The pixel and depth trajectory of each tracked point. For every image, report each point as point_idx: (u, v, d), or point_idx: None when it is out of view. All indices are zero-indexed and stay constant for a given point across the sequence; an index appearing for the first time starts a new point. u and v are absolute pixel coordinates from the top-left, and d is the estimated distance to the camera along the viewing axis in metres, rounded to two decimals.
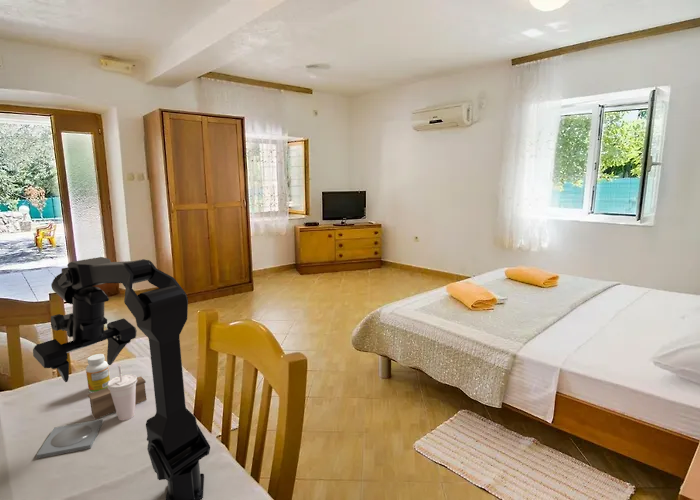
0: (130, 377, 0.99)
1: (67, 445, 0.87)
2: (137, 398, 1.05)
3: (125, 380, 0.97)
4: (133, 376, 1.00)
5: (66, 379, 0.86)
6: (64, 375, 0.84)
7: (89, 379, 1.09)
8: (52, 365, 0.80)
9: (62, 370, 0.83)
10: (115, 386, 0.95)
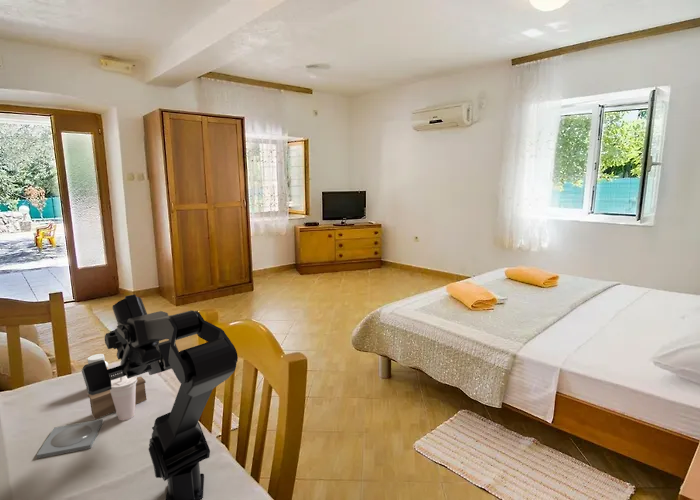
0: None
1: (67, 445, 0.87)
2: (137, 398, 1.05)
3: (125, 380, 0.97)
4: None
5: None
6: None
7: None
8: (96, 393, 0.82)
9: None
10: (115, 386, 0.95)
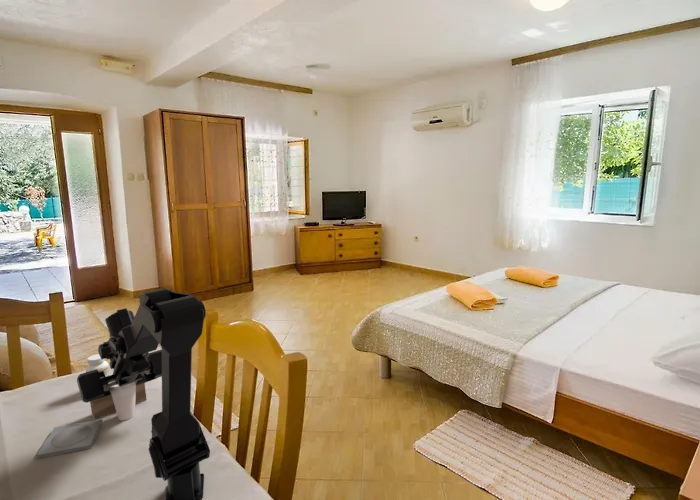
0: None
1: (67, 445, 0.87)
2: (137, 398, 1.05)
3: None
4: None
5: None
6: None
7: None
8: (89, 400, 0.88)
9: None
10: (115, 386, 0.95)
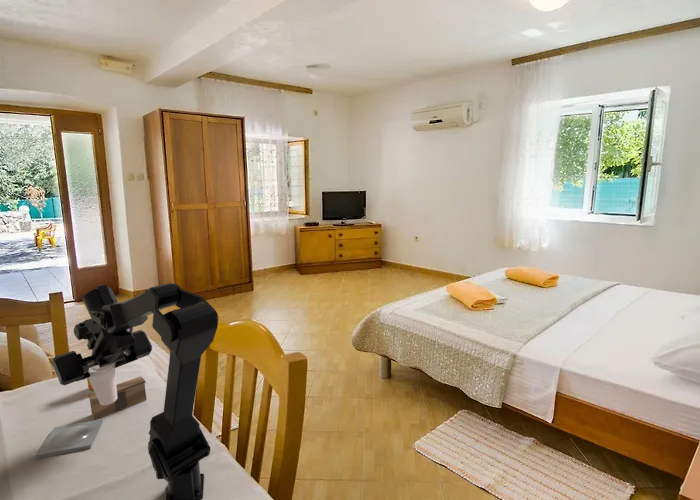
0: None
1: (67, 445, 0.87)
2: (137, 398, 1.05)
3: None
4: None
5: None
6: None
7: None
8: (68, 383, 0.83)
9: None
10: (93, 371, 0.90)
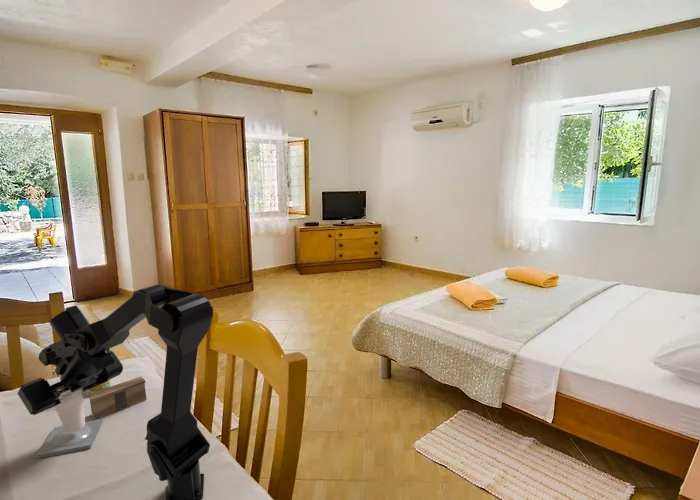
0: None
1: (67, 445, 0.87)
2: (137, 398, 1.05)
3: None
4: None
5: None
6: None
7: None
8: (39, 412, 0.78)
9: None
10: (60, 398, 0.86)
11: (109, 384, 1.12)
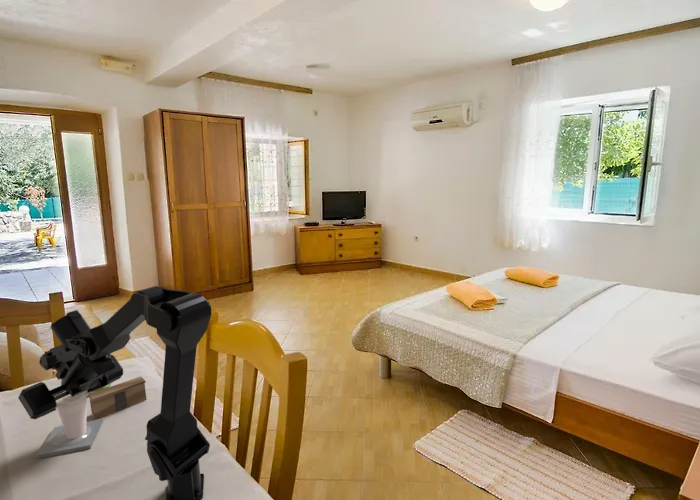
0: None
1: (67, 445, 0.87)
2: (137, 398, 1.05)
3: None
4: None
5: None
6: None
7: None
8: (39, 416, 0.79)
9: None
10: (66, 402, 0.87)
11: (109, 384, 1.12)
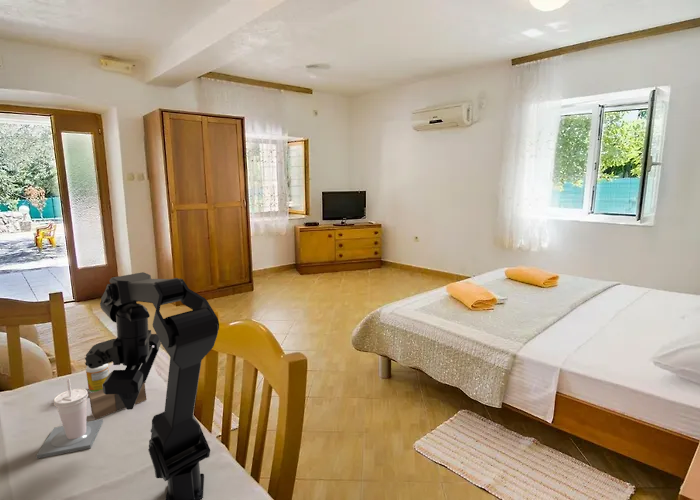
0: (79, 391, 0.91)
1: (67, 445, 0.87)
2: (137, 398, 1.05)
3: (75, 394, 0.90)
4: (82, 389, 0.92)
5: None
6: (136, 399, 0.82)
7: (89, 379, 1.09)
8: (139, 387, 0.78)
9: None
10: (66, 402, 0.87)
11: None
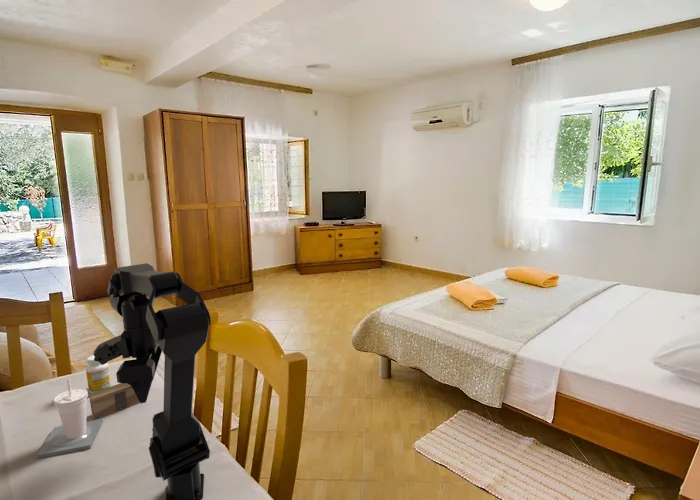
0: (79, 391, 0.91)
1: (67, 445, 0.87)
2: (137, 398, 1.05)
3: (75, 394, 0.90)
4: (82, 389, 0.92)
5: None
6: None
7: (89, 379, 1.09)
8: (153, 373, 0.78)
9: None
10: (66, 402, 0.87)
11: (109, 384, 1.12)
